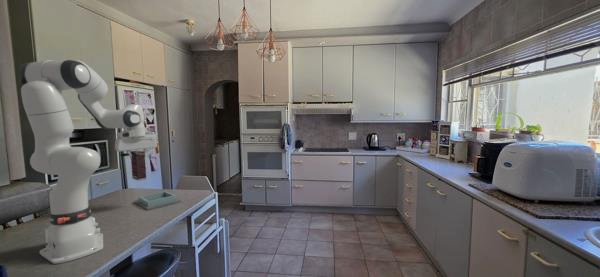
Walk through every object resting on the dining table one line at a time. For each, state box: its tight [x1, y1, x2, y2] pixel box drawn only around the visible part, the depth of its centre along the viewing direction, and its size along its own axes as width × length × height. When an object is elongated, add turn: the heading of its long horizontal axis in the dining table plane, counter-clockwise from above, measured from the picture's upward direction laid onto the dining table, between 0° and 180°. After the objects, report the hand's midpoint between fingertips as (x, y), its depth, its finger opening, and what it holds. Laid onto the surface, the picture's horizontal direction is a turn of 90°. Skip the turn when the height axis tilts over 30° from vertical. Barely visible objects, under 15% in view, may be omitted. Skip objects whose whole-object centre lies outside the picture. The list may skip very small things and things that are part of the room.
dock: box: [133, 190, 182, 211], centre depth 153 cm, size 22×18×4 cm
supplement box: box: [130, 150, 147, 181], centre depth 145 cm, size 9×5×16 cm, turn 49°
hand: (138, 157), depth 145 cm, fingers closed on supplement box, 5 cm apart
